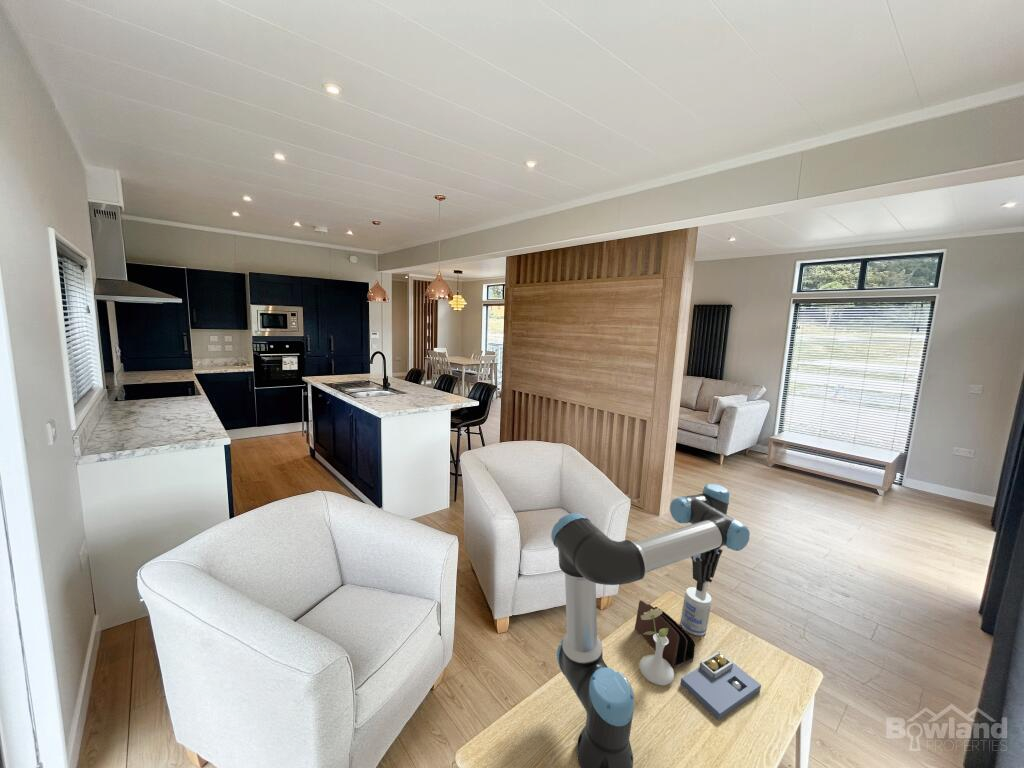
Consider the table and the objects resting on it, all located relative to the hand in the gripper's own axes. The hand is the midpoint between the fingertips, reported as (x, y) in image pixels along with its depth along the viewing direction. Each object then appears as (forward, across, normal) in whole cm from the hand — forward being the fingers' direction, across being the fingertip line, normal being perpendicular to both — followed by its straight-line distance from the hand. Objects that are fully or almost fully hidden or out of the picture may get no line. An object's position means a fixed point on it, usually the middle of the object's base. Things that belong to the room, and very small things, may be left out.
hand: (700, 597), depth 139 cm
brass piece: (+25, +6, -4) cm, 26 cm away
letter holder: (+30, +2, +13) cm, 33 cm away
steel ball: (+28, +9, -12) cm, 31 cm away
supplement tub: (+30, +20, +14) cm, 39 cm away
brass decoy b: (+25, +11, -4) cm, 28 cm away
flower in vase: (+30, -11, +5) cm, 32 cm away
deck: (+29, +5, -8) cm, 31 cm away
